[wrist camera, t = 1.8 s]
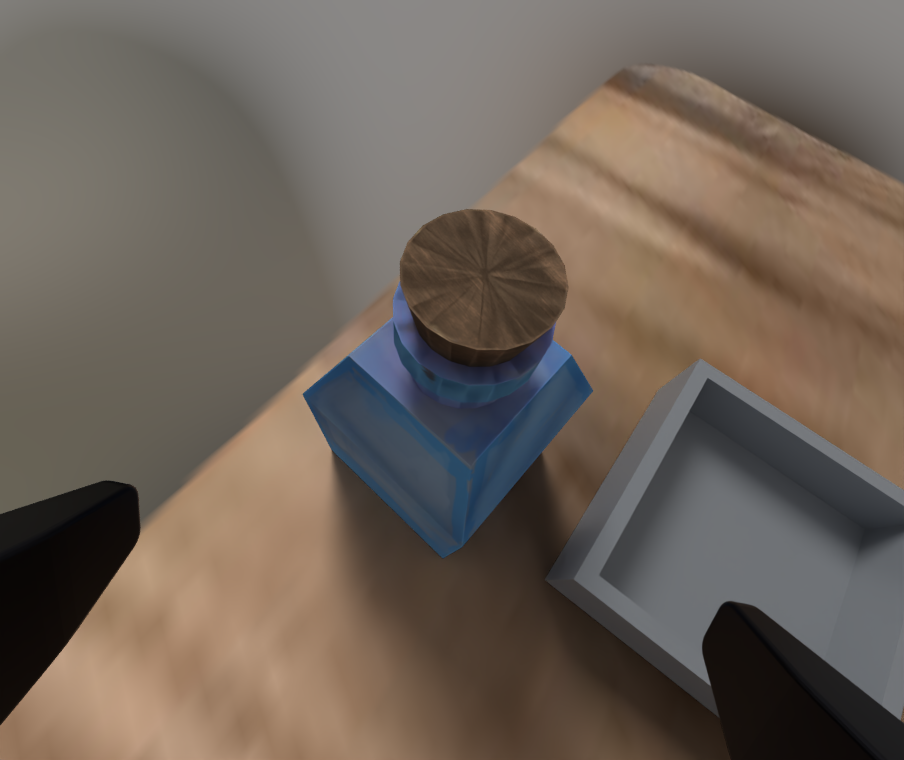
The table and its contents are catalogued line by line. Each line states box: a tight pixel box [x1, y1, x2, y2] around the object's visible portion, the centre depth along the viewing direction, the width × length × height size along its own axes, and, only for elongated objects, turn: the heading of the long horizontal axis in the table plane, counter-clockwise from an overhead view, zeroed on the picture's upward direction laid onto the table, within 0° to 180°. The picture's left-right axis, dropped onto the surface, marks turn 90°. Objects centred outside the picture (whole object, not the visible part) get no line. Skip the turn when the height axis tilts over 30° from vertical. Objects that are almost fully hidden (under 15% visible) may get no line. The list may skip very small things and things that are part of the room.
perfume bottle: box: [303, 209, 593, 558], centre depth 14 cm, size 6×6×12 cm
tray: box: [545, 359, 904, 720], centre depth 17 cm, size 10×10×3 cm
